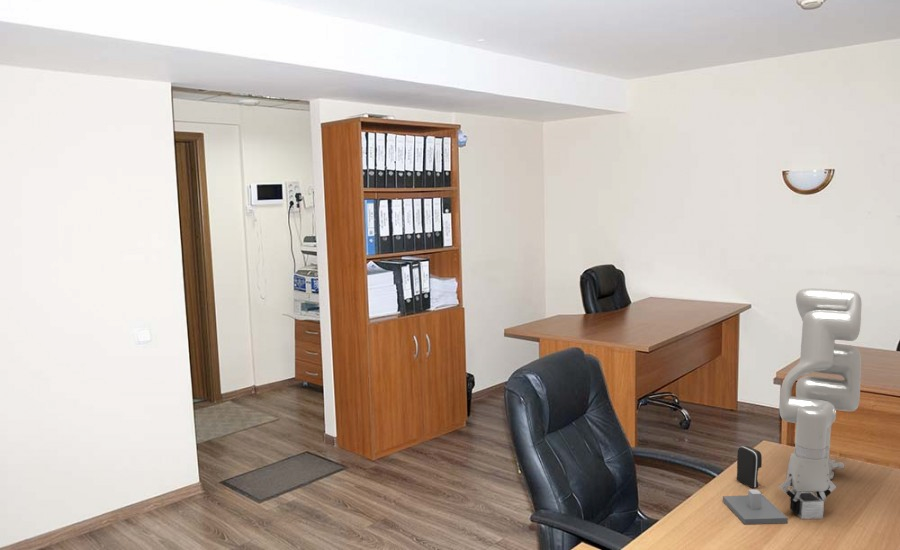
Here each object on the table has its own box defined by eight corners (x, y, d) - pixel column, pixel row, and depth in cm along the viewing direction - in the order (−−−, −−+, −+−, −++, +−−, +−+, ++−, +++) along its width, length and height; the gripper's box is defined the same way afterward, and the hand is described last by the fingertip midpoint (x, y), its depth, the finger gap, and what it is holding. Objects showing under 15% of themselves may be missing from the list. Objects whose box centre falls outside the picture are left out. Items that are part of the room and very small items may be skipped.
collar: (810, 508, 196) (811, 491, 196) (822, 518, 190) (823, 501, 190) (790, 508, 196) (791, 492, 195) (801, 519, 190) (802, 502, 189)
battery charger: (762, 486, 210) (764, 451, 209) (753, 489, 209) (754, 453, 207) (744, 478, 217) (746, 443, 215) (735, 480, 215) (737, 445, 214)
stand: (762, 499, 202) (763, 480, 201) (787, 523, 188) (788, 502, 187) (722, 500, 202) (723, 481, 201) (744, 524, 188) (745, 503, 187)
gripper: (832, 445, 195) (828, 505, 197) (772, 446, 194) (769, 506, 197) (848, 455, 187) (844, 517, 190) (786, 457, 187) (783, 519, 189)
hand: (806, 511), depth 193 cm, fingers closed on collar, 5 cm apart
